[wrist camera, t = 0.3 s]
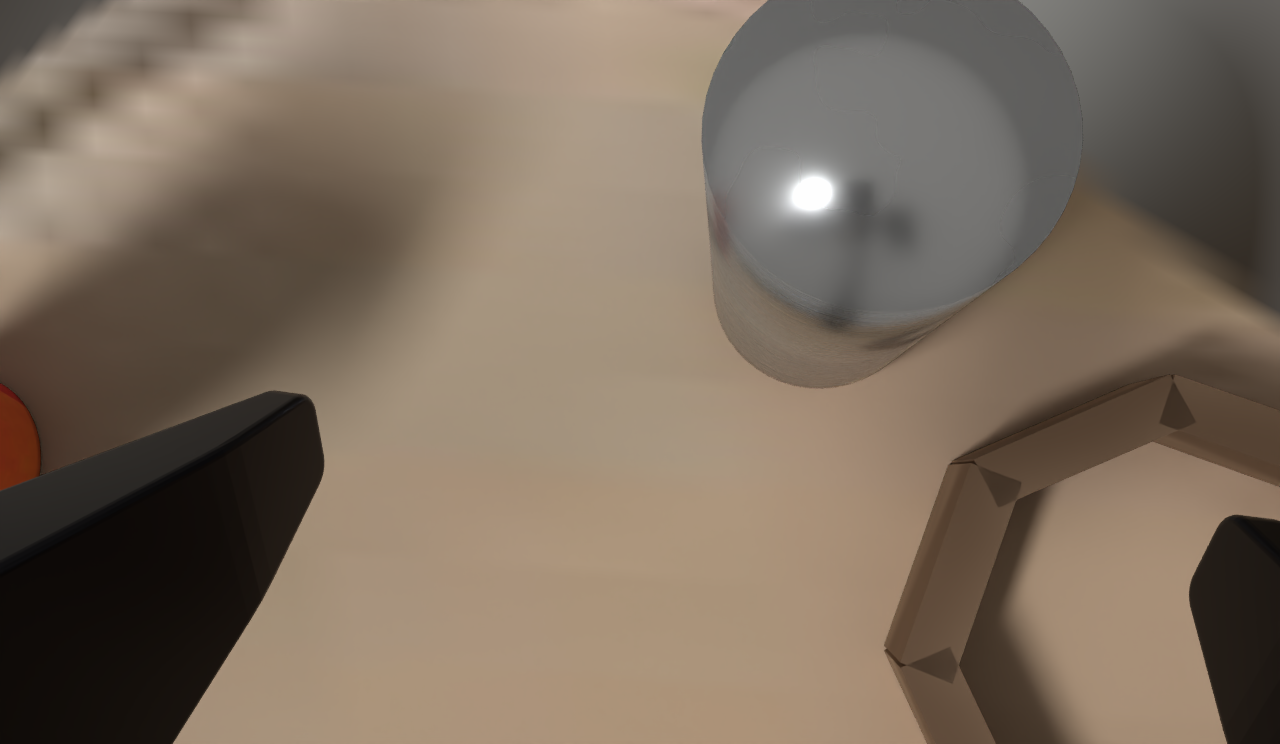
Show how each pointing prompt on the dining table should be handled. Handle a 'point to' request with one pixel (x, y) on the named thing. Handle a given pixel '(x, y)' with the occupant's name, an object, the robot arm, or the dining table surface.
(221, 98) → the dining table surface
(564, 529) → the dining table surface
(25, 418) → the paper cup
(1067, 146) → the metal tumbler
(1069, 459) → the bore ring
